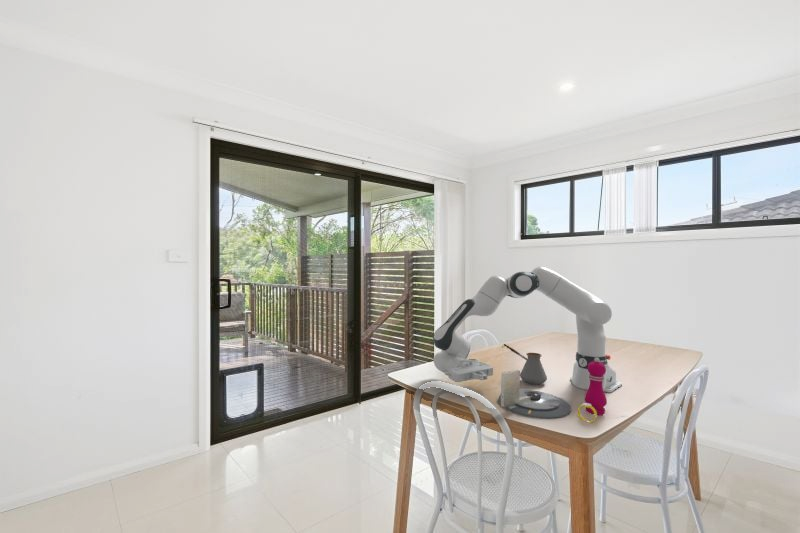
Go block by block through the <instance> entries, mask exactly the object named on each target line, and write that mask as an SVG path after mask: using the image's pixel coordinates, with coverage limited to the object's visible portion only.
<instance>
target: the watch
mask: <svg viewBox="0 0 800 533" xmlns="http://www.w3.org/2000/svg"><path fill="white" fill-rule="evenodd" d="M582 407H583V408H586V407H588V408H591V409H592V410H593V412H594V414H595V415H594V418H593V419H592V420H590V422H591V423H594V422H595V421H596V420H597V417H598V415H597V412H596V410H595V409H594V408H593V407H592V405H591V404H590V403H586V402H583V403H582V404H580V405H579V407H578V408H577V416H578V417H579V418H580V420H581V421H583V420H585V421H584V422H587V421H589V419H587V418H584V417H583V416H582V415H581V412H580V411H581V408H582ZM590 422H589V423H590Z"/></svg>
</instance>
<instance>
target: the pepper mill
mask: <svg viewBox="0 0 800 533" xmlns="http://www.w3.org/2000/svg"><path fill="white" fill-rule="evenodd" d="M599 361H600V360H599V358H595V359H594V362H591V363H589V364H588V367H587V369H588V372H589V373H590V374H589V379H590V386H589V389H588V390H587V389H586V393H585V394H584V403H590V404H591V405H592V407H593V408H594V409H595V410H596V412H597V416H604V415H605V414H606V408H605V406H606V405H607V403H608V401H607V400H608V399H607V396H606V394H605V392H604V391H603V388H602V382H603V380H604V376H603V375H604V374H605V372H606V368H605V366H604V364H602V363H600V362H599ZM585 411H586V412H587V414H590V413H591V414H590V415H593V414H594V412H593V410H592V409H591V408H588V407H585ZM603 414H604V415H603Z"/></svg>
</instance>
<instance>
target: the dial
mask: <svg viewBox="0 0 800 533" xmlns="http://www.w3.org/2000/svg"><path fill="white" fill-rule="evenodd" d="M520 373H521V370H519V369H513V370H507V371H504V372H501V379H500V380H501V383H500V384H501V385H500V390H501V391H500V394H501V405H500V407H502V408H504V407H507V406H511V405H514V404H515V405H517V406H520V407H522V408H526V409H531V410H538V411H549V410H554V409H557V408H558V407H559V400H558V399H557V398H556V397H554V396H555V395H554V396H552V395H553V394H551V395H550V393H548V394H547V392H543V391H540V390H532V389H520V386H521V384H520V382H521V377H520Z"/></svg>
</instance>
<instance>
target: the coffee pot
mask: <svg viewBox="0 0 800 533" xmlns="http://www.w3.org/2000/svg"><path fill="white" fill-rule="evenodd" d="M505 347H506V349H508V350H510V351H511V352H513V353H514V354H516V355H518V356H519V357H521V358H522V359H524V360H525V363H524V365H523V368H522V369H521V370H520V380H522V381H523V383H524V384H526V385H529V386H541V385H543V384H544V383H546V382H547V379H548V376H547V373H546V371H545V369H544V367H543V364H542V361H541V357H542V354H541V353H537V352H526V356H527V357H526V356H524V355H523V354H521V353H520V352H518V351H517V350H515V349H514V348H513V347H511V346H509V345H508V344H505V343H503V345H502V346H501V348H505Z"/></svg>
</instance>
